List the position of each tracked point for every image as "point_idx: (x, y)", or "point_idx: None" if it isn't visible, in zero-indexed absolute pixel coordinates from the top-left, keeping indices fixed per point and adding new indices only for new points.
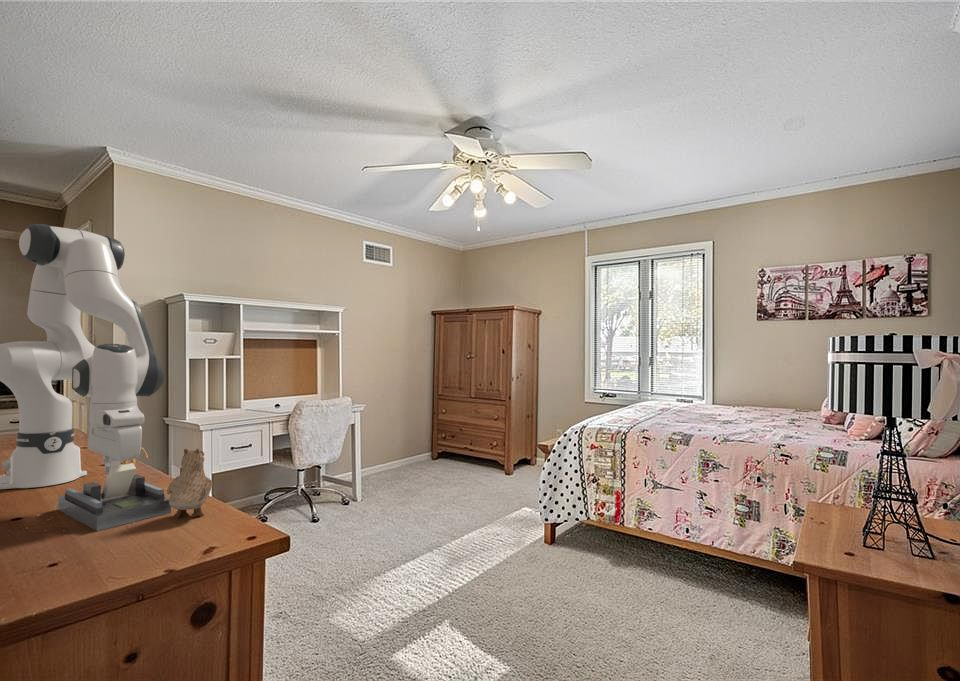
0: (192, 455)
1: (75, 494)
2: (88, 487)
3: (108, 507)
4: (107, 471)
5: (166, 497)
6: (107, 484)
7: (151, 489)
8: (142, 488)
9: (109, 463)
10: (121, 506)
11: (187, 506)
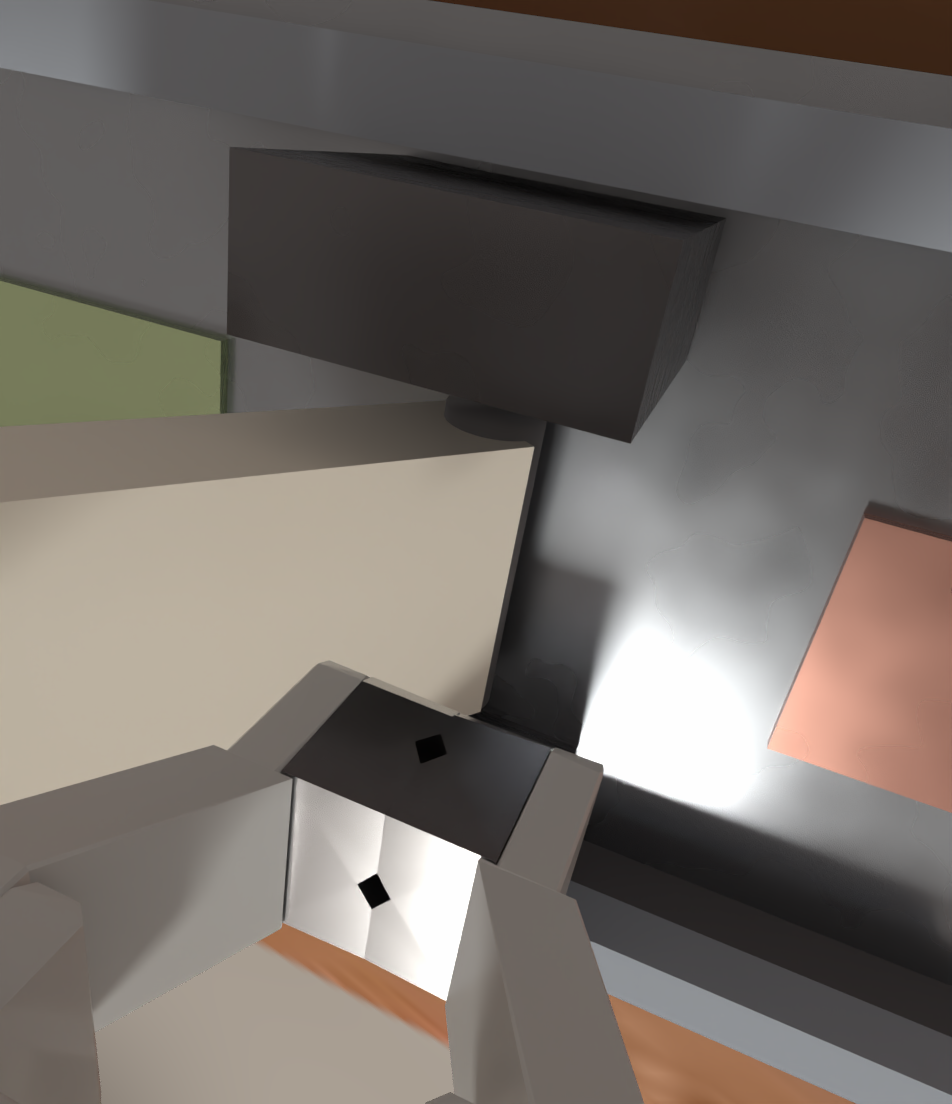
0: None
1: (816, 109)
2: (381, 175)
3: (130, 219)
4: (442, 746)
5: None
6: (221, 435)
7: None
8: None
9: (477, 998)
10: (21, 292)
11: None
